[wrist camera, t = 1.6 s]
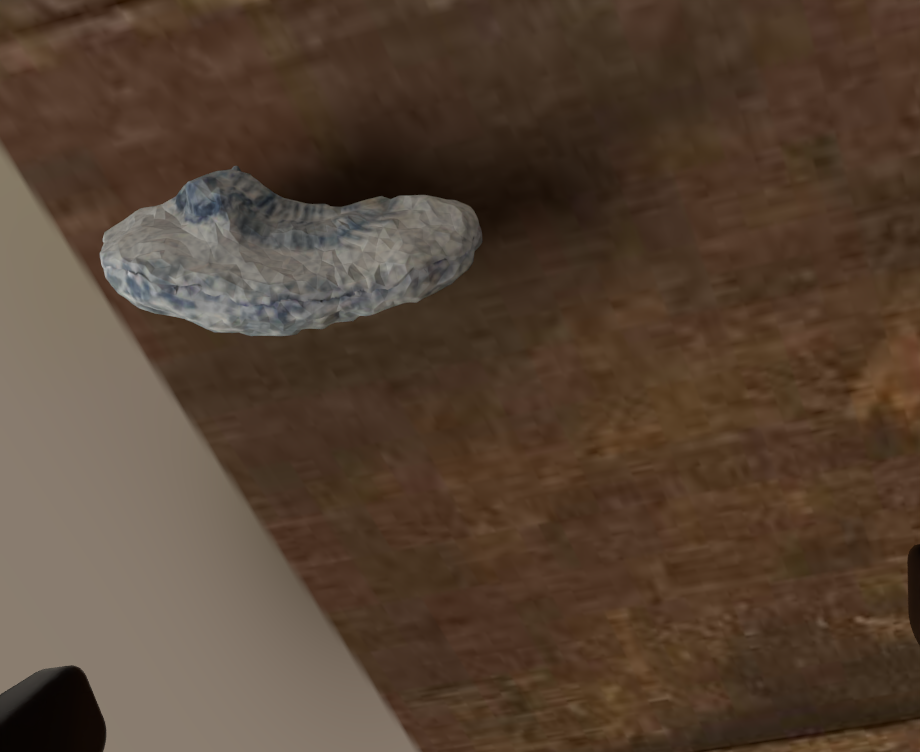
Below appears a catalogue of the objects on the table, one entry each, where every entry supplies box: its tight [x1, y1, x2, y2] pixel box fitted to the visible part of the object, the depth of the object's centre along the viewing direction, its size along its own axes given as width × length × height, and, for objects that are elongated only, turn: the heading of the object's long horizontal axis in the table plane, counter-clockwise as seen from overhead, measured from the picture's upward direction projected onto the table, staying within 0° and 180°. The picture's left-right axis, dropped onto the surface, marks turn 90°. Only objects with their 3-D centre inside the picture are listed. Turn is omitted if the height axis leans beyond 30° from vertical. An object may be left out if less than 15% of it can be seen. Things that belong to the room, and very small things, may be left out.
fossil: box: [100, 166, 482, 336], centre depth 17 cm, size 8×4×5 cm, turn 91°
